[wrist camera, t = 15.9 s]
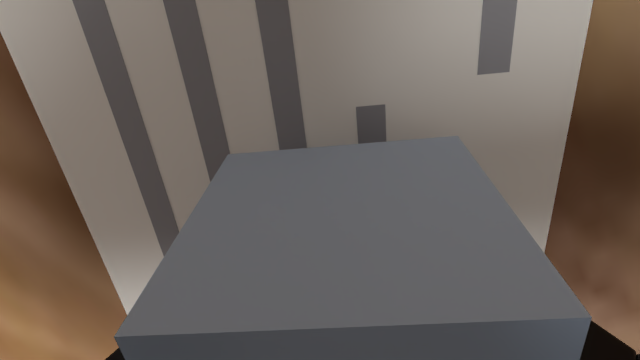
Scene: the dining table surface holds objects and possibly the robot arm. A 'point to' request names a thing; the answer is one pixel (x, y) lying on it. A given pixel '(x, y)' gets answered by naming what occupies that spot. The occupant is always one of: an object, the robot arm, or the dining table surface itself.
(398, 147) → the cube
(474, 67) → the letter
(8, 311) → the dining table surface
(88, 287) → the dining table surface
